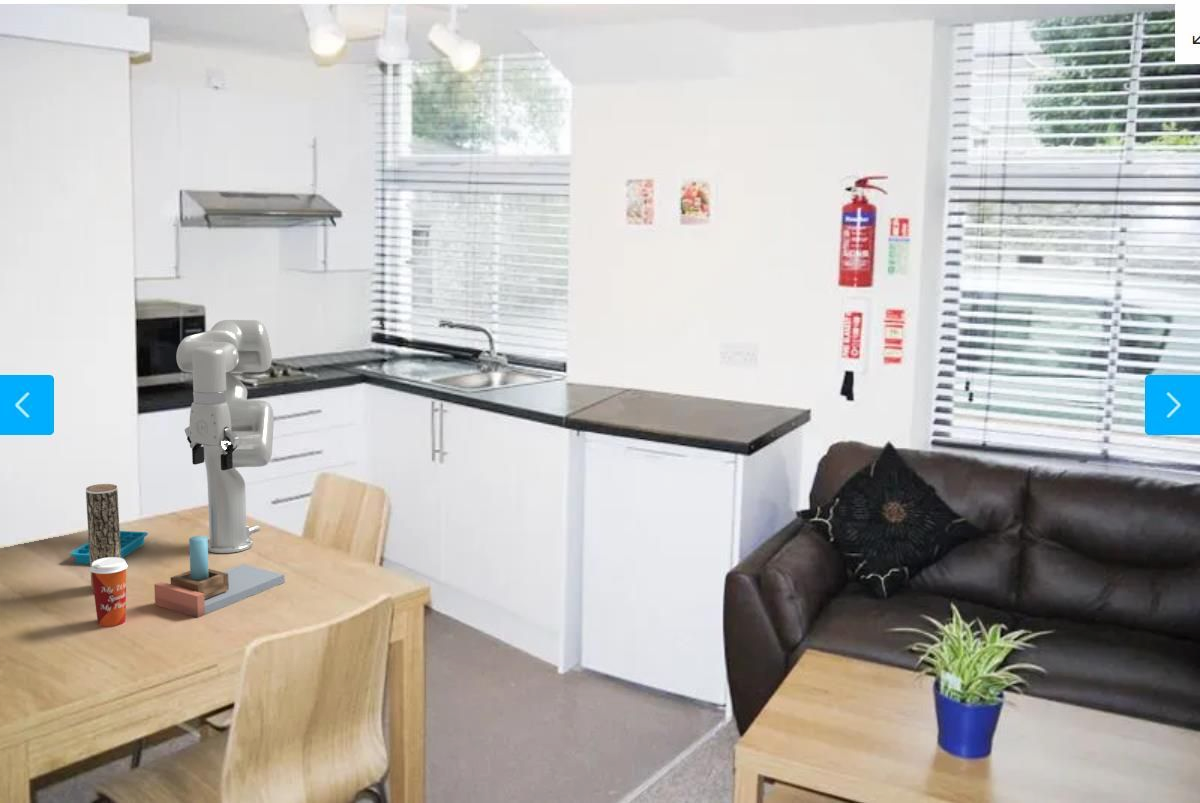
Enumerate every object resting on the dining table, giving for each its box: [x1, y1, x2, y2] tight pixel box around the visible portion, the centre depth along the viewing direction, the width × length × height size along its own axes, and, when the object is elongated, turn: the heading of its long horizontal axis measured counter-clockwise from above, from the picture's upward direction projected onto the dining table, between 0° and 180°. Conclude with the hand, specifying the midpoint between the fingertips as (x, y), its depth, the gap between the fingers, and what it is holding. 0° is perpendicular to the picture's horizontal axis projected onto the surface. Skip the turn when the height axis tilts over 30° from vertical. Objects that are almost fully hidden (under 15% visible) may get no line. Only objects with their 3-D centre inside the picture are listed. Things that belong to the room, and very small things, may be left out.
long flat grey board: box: [153, 563, 285, 618], centre depth 264 cm, size 27×14×5 cm, turn 151°
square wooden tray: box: [170, 568, 229, 599], centre depth 258 cm, size 9×9×4 cm
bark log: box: [85, 483, 121, 591], centre depth 263 cm, size 7×7×25 cm
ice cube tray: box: [70, 530, 149, 565], centre depth 290 cm, size 12×20×3 cm, turn 176°
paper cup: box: [89, 557, 129, 628], centre depth 244 cm, size 8×8×14 cm
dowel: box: [188, 535, 209, 582], centre depth 257 cm, size 4×4×12 cm
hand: (212, 466), depth 270 cm, fingers open, 9 cm apart
